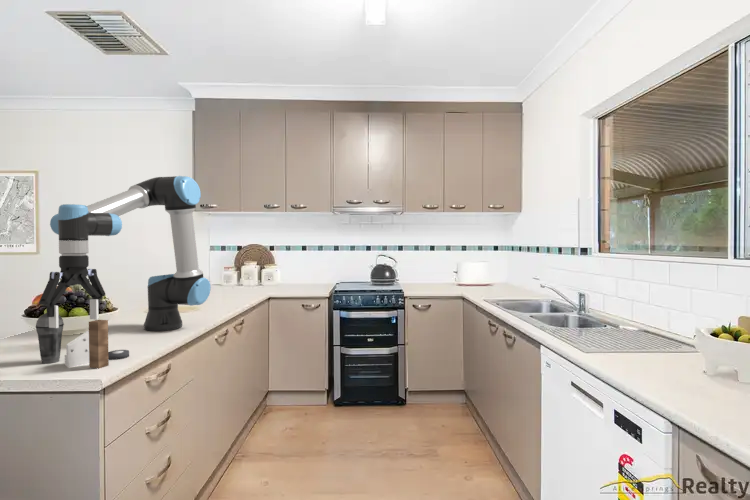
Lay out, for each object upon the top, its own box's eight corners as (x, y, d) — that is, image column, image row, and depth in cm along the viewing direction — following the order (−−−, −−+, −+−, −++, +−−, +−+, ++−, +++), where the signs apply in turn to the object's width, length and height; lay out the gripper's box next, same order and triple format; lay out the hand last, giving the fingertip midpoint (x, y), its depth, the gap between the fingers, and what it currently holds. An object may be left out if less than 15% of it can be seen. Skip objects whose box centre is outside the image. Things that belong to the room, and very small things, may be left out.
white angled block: (105, 352, 140) (89, 331, 137) (74, 374, 134) (56, 352, 130) (101, 350, 143) (85, 329, 139) (70, 372, 136) (53, 350, 133)
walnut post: (99, 364, 136) (98, 319, 135) (108, 365, 135) (107, 320, 134) (89, 367, 132) (88, 321, 132) (98, 368, 131) (98, 322, 131)
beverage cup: (64, 357, 143) (63, 296, 143) (64, 362, 137) (63, 299, 137) (36, 360, 139) (35, 298, 139) (35, 366, 133) (33, 301, 133)
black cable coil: (118, 353, 148) (117, 348, 148) (133, 355, 146) (133, 350, 146) (101, 358, 142) (101, 353, 142) (117, 360, 140) (117, 355, 140)
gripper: (99, 253, 148) (99, 315, 148) (22, 256, 124) (24, 330, 124) (117, 253, 146) (118, 316, 147) (43, 256, 122) (44, 332, 122)
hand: (75, 323), depth 135 cm, fingers open, 13 cm apart
